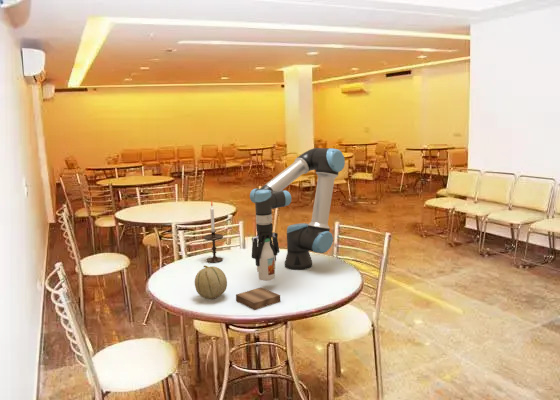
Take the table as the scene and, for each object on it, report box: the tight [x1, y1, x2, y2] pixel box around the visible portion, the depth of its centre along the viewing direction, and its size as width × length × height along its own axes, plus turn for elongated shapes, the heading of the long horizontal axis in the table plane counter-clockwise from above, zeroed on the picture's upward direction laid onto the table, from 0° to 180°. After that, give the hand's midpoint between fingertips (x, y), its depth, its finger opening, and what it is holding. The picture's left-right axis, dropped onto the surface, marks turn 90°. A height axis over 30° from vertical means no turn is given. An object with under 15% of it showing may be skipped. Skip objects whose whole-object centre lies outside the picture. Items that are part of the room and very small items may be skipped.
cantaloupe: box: [194, 265, 228, 300], centre depth 223 cm, size 15×15×15 cm
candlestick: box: [203, 200, 224, 264], centre depth 280 cm, size 11×11×35 cm
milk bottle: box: [257, 238, 276, 282], centre depth 233 cm, size 8×8×20 cm
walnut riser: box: [235, 286, 281, 311], centre depth 218 cm, size 14×14×3 cm
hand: (266, 270), depth 234 cm, fingers closed on milk bottle, 7 cm apart
